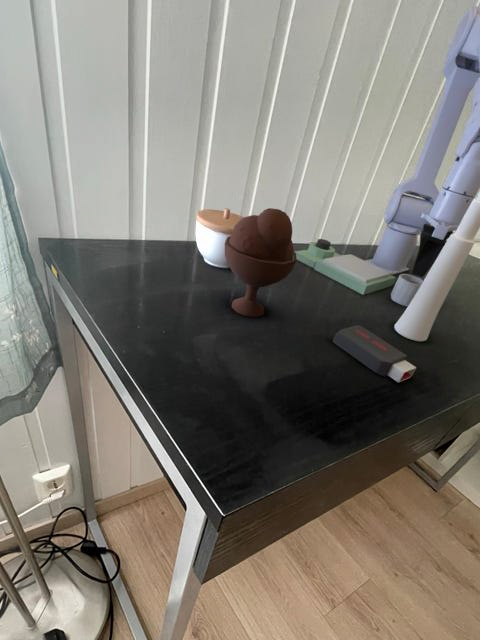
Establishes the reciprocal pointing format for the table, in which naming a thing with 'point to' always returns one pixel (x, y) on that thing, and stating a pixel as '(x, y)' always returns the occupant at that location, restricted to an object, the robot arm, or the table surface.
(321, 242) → the button
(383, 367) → the usb drive
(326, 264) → the scale
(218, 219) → the trinket box
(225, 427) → the table surface
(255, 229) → the ice cream bowl
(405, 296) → the grey cup
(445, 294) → the cosmetic bottle
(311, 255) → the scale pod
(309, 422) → the table surface
